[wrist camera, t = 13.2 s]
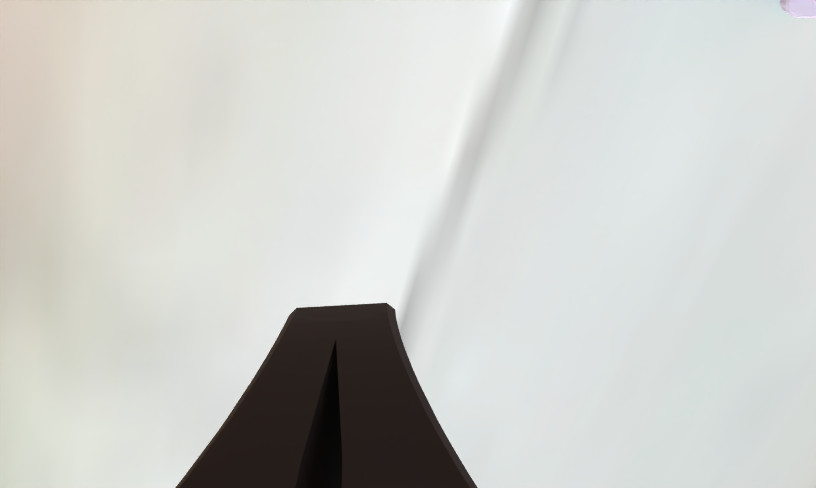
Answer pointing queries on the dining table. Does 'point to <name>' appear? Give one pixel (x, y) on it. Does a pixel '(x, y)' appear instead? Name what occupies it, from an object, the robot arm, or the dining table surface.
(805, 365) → the dining table surface
